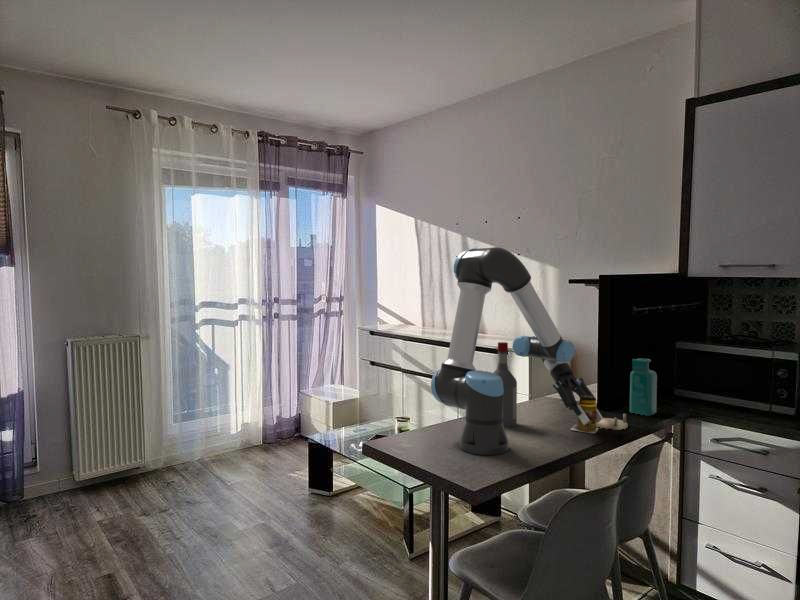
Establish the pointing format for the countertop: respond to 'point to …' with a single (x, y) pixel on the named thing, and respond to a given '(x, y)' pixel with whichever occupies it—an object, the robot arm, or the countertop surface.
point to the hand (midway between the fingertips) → (593, 421)
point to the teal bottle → (643, 388)
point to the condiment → (590, 410)
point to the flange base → (613, 423)
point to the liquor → (507, 387)
